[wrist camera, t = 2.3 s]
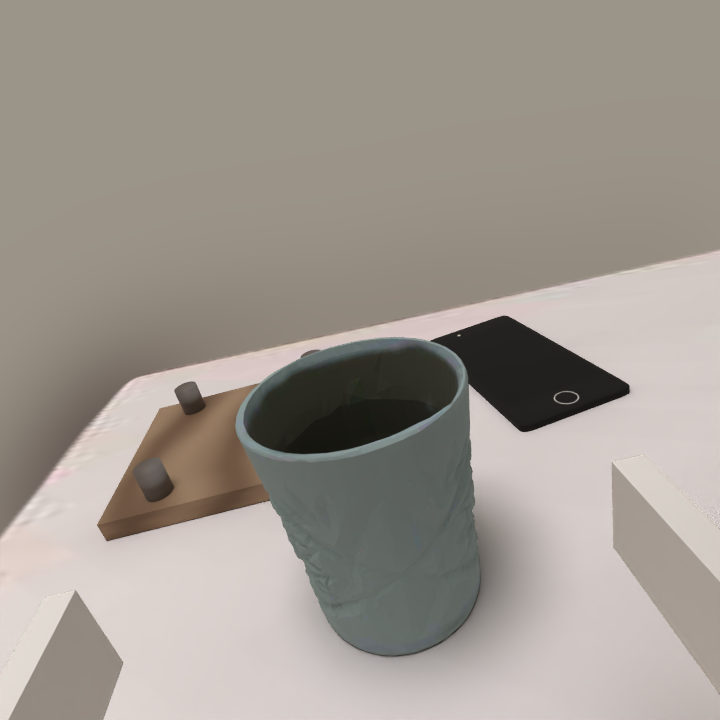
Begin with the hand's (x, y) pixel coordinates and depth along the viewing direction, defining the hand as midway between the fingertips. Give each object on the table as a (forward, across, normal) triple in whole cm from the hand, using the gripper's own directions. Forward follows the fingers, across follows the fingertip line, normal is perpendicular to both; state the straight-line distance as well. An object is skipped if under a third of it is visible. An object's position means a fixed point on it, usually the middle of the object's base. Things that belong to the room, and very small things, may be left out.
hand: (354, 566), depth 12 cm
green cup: (+11, 0, -13) cm, 17 cm away
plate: (+28, -9, -12) cm, 32 cm away
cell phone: (+30, +14, -13) cm, 35 cm away
